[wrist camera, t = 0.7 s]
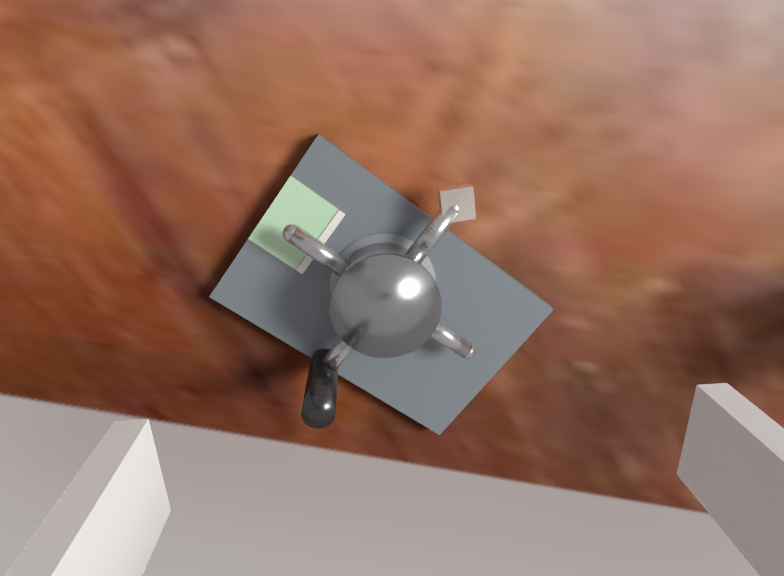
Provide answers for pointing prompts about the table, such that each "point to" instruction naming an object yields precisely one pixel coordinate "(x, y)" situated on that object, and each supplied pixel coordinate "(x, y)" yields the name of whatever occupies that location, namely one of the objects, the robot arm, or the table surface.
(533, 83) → the table surface
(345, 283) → the cam capstan
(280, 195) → the stand plate
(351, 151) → the table surface
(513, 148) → the table surface
